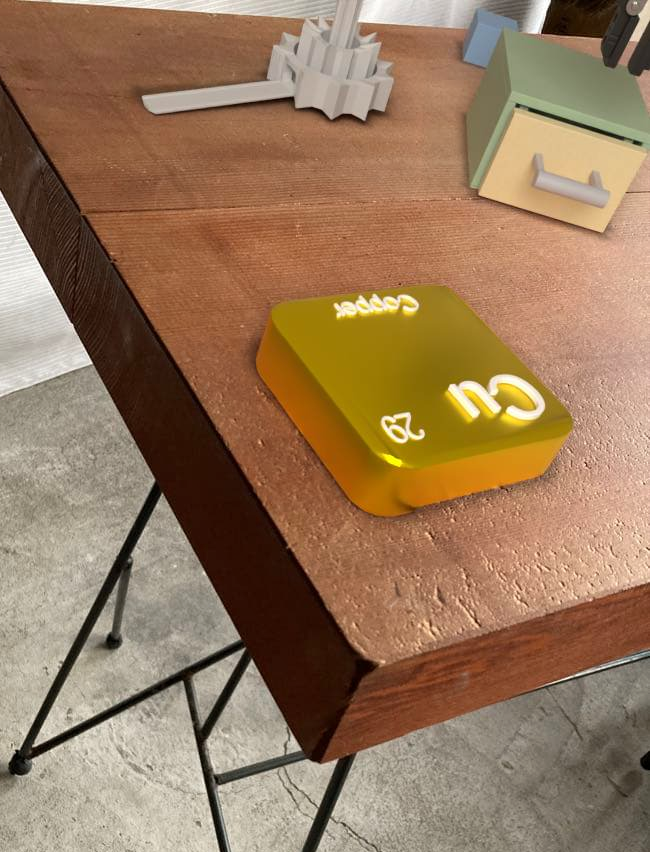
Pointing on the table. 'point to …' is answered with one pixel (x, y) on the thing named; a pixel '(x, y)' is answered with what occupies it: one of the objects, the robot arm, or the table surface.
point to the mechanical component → (307, 72)
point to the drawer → (561, 168)
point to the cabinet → (550, 94)
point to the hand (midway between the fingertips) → (621, 67)
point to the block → (484, 36)
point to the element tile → (409, 396)
